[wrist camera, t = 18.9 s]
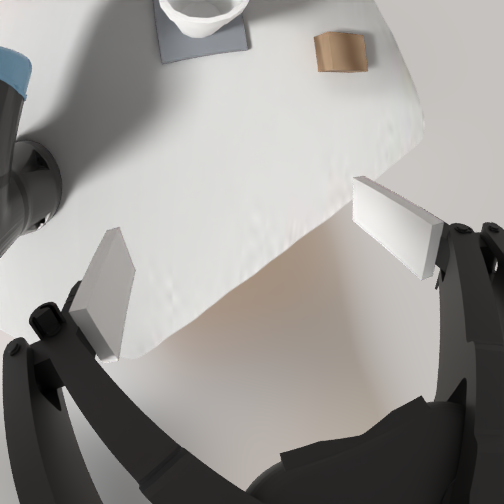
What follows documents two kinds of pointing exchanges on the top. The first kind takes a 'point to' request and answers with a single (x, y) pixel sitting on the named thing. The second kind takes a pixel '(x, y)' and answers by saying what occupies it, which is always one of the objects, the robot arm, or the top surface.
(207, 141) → the top surface
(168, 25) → the mat
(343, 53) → the walnut block
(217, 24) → the foam cup
